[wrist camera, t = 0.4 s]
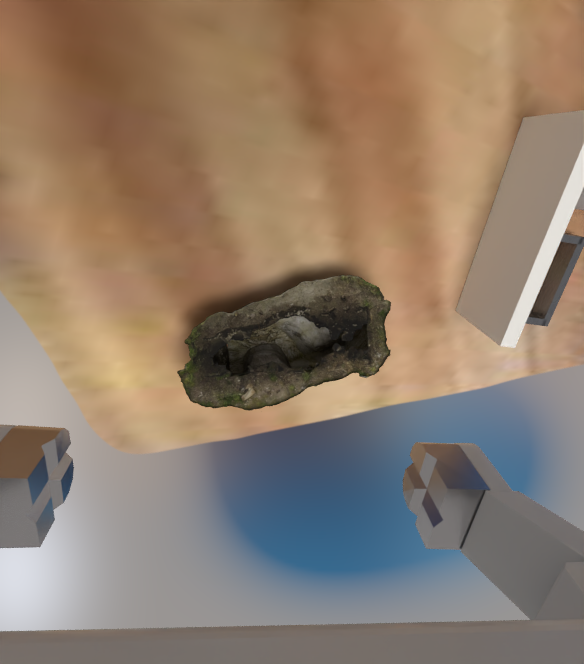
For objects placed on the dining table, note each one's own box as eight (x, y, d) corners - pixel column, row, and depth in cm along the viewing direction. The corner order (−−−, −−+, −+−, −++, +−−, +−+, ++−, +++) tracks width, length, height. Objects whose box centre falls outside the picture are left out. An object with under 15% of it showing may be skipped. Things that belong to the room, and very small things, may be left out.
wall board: (523, 117, 51) (598, 108, 40) (537, 120, 51) (615, 112, 40) (455, 310, 61) (500, 345, 50) (467, 312, 61) (514, 347, 50)
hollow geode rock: (196, 337, 64) (202, 434, 58) (167, 302, 52) (172, 419, 46) (372, 307, 64) (396, 402, 58) (384, 265, 52) (415, 379, 46)
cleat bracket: (504, 222, 56) (517, 225, 53) (571, 233, 58) (587, 238, 55) (471, 309, 61) (482, 317, 58) (534, 318, 63) (547, 326, 60)
